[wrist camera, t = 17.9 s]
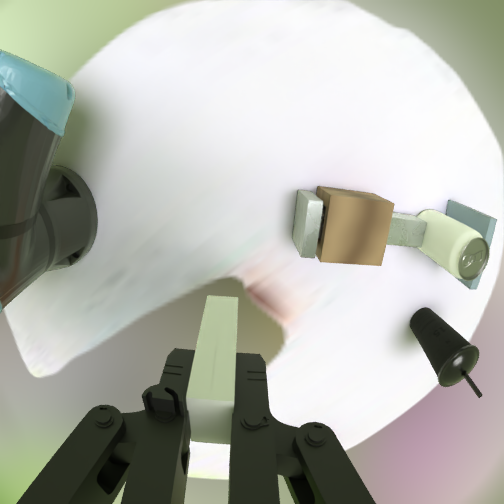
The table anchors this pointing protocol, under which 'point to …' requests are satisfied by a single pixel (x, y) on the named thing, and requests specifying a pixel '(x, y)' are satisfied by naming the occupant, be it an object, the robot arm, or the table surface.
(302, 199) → the shaft
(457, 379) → the drinking cup
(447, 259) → the can
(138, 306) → the table surface
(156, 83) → the table surface
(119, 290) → the table surface
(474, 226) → the end plate
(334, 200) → the tan wooden block
